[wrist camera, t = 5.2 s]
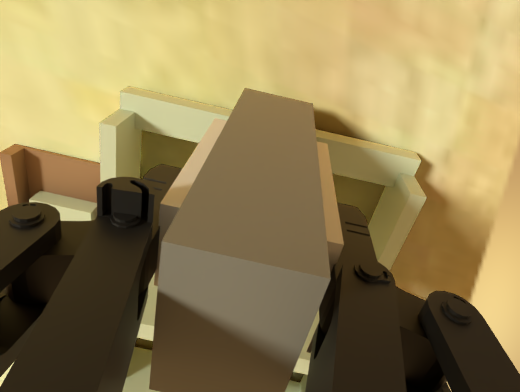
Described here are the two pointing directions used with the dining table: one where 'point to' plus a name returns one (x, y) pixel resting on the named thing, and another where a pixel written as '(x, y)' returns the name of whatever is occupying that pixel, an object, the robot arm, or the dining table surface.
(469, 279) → the dining table surface
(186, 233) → the sage green shelf unit
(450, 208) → the dining table surface
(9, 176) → the frame
